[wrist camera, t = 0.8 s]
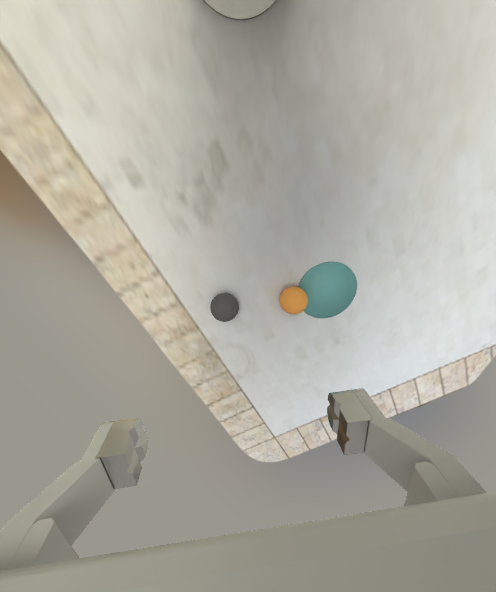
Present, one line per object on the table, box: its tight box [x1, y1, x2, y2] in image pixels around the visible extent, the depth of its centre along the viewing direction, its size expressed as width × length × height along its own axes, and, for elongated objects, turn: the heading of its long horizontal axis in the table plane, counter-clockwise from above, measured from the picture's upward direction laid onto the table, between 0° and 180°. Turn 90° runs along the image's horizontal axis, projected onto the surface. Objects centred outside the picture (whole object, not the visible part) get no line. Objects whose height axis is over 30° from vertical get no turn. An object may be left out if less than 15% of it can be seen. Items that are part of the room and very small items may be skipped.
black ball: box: [211, 293, 239, 322], centre depth 49 cm, size 6×6×6 cm
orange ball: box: [280, 287, 308, 314], centre depth 50 cm, size 6×6×6 cm
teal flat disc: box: [298, 262, 357, 318], centre depth 53 cm, size 13×13×1 cm
